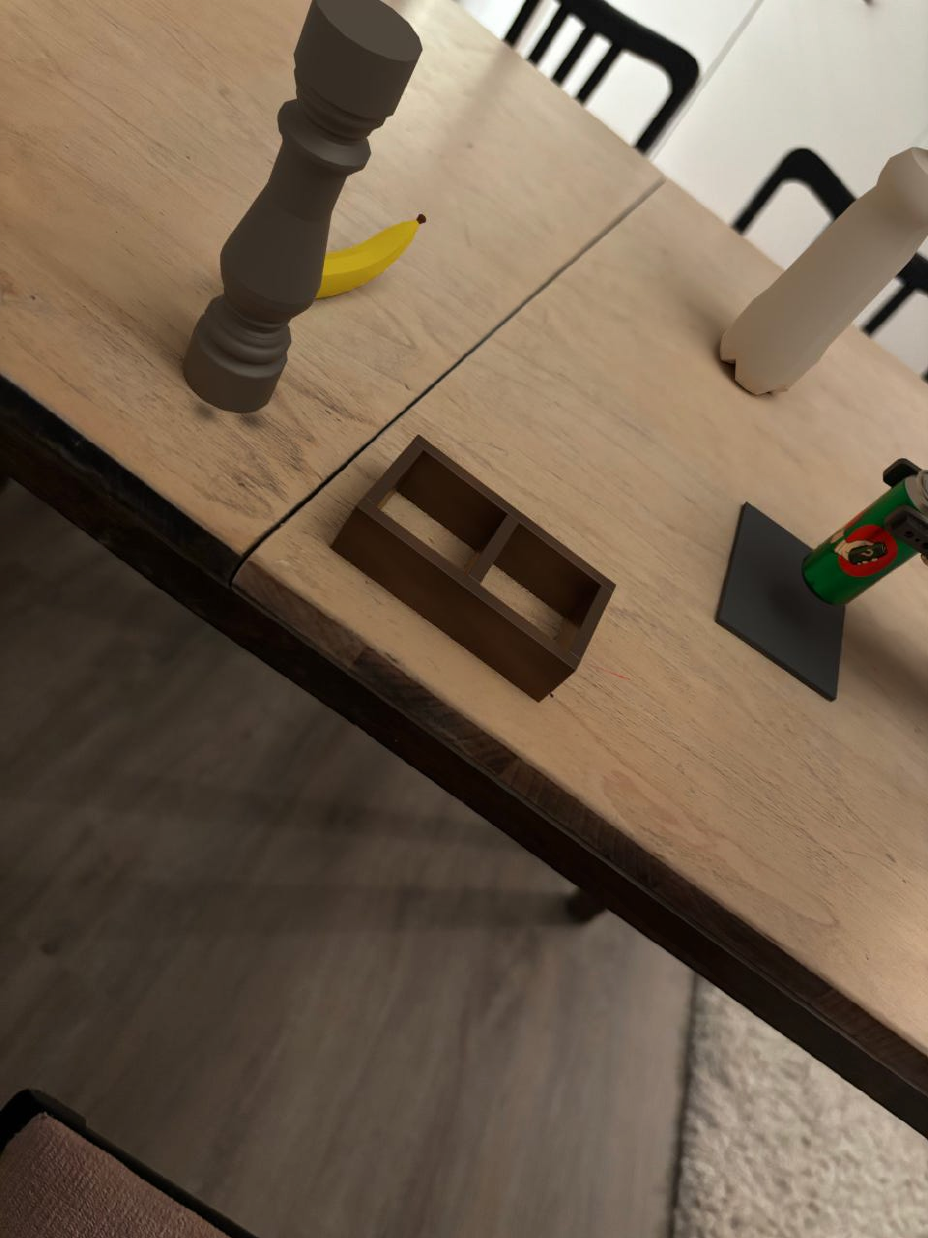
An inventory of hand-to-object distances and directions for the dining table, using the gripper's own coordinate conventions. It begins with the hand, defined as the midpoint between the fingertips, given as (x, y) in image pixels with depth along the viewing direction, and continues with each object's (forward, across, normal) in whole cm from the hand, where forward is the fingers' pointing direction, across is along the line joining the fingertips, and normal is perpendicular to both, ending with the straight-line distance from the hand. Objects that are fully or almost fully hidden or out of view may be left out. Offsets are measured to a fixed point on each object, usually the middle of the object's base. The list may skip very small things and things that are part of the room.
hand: (892, 491), depth 69 cm
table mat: (-3, -2, +14) cm, 15 cm away
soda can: (-3, 0, +10) cm, 11 cm away
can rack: (+24, +17, +14) cm, 33 cm away
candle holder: (+45, +12, +14) cm, 48 cm away
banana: (+44, -1, +14) cm, 46 cm away
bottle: (+5, -32, +15) cm, 35 cm away
